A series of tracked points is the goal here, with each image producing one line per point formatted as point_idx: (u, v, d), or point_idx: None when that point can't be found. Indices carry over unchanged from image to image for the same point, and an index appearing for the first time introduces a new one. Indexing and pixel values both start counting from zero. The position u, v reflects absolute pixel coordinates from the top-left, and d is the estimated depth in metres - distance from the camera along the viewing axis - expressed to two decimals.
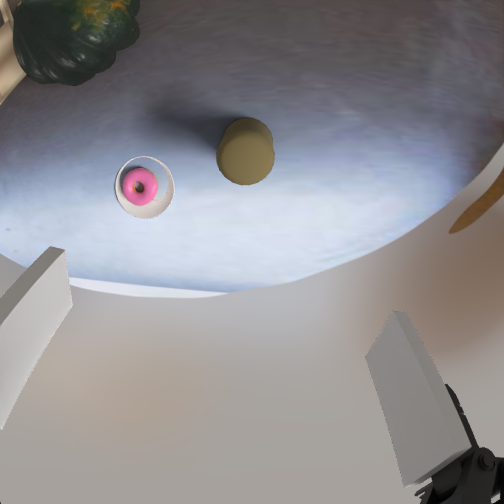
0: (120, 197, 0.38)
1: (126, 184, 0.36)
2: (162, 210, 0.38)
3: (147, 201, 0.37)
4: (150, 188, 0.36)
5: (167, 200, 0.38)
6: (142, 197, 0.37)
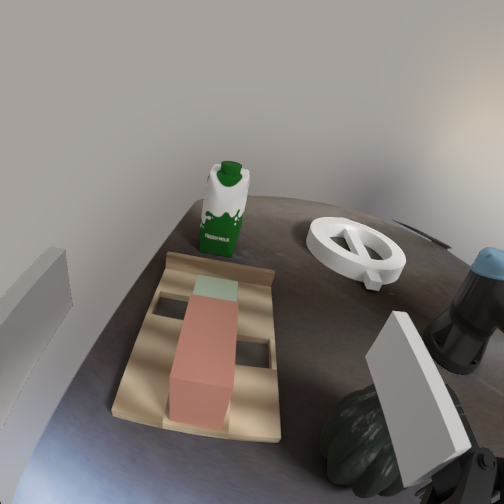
0: None
1: None
2: None
3: None
4: None
5: None
6: None
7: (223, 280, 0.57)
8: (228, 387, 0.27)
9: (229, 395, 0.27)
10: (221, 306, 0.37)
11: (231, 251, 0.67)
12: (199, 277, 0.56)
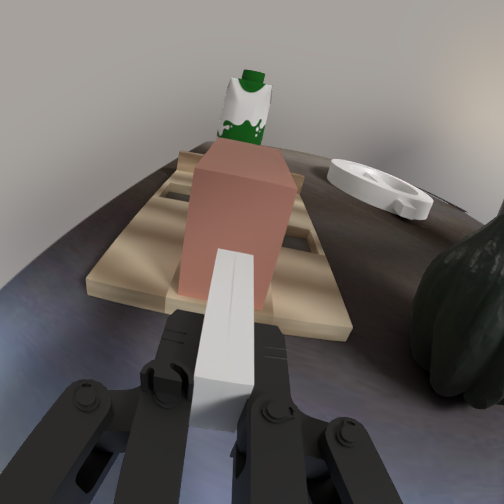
0: None
1: None
2: None
3: None
4: None
5: None
6: None
7: None
8: (290, 188, 0.17)
9: (288, 209, 0.18)
10: (259, 147, 0.27)
11: None
12: None
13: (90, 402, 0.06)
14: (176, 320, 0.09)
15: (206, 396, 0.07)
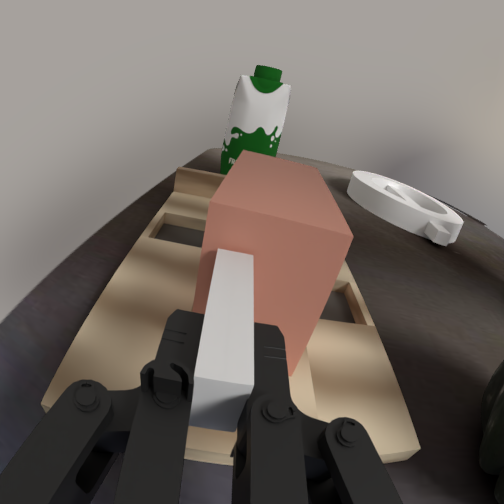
0: None
1: None
2: None
3: None
4: None
5: None
6: None
7: None
8: (343, 235, 0.12)
9: (338, 263, 0.13)
10: (293, 164, 0.22)
11: None
12: None
13: (90, 402, 0.06)
14: (176, 320, 0.09)
15: (206, 396, 0.07)
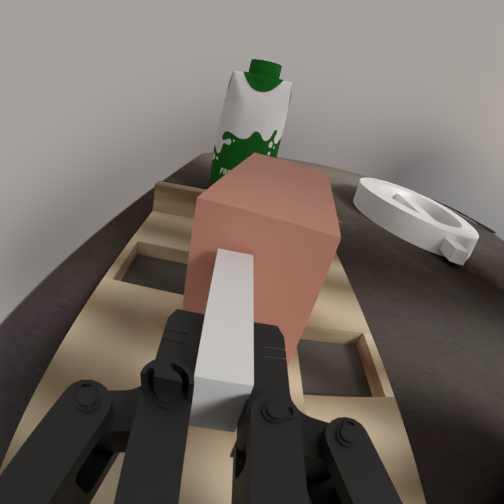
0: None
1: None
2: None
3: None
4: None
5: None
6: None
7: None
8: (330, 236, 0.12)
9: (326, 265, 0.13)
10: (302, 168, 0.22)
11: None
12: None
13: (90, 402, 0.06)
14: (176, 320, 0.09)
15: (206, 396, 0.07)
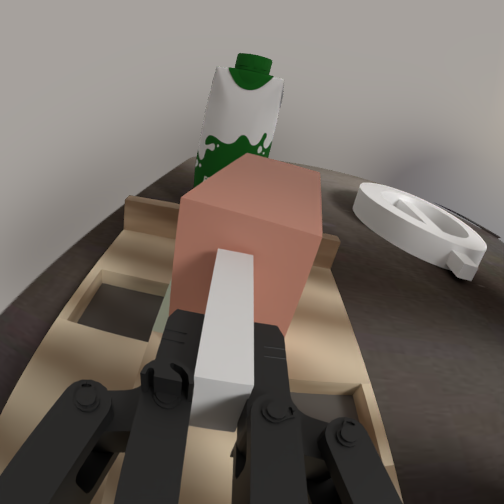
0: None
1: None
2: None
3: None
4: None
5: None
6: None
7: None
8: (311, 235, 0.12)
9: (307, 264, 0.13)
10: (294, 168, 0.22)
11: None
12: None
13: (90, 402, 0.06)
14: (177, 320, 0.09)
15: (206, 396, 0.07)
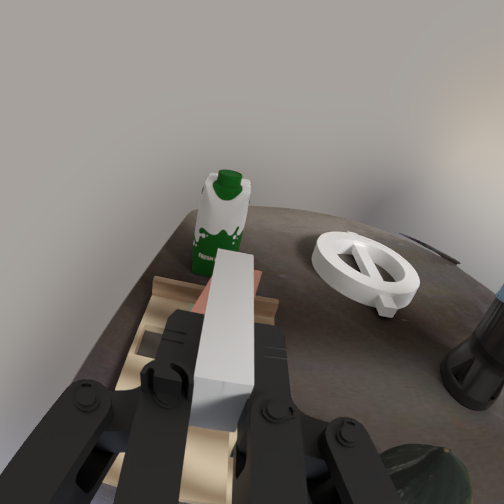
0: None
1: None
2: None
3: None
4: None
5: None
6: None
7: None
8: None
9: None
10: None
11: None
12: (191, 307, 0.47)
13: (90, 402, 0.06)
14: (176, 320, 0.09)
15: (206, 396, 0.07)
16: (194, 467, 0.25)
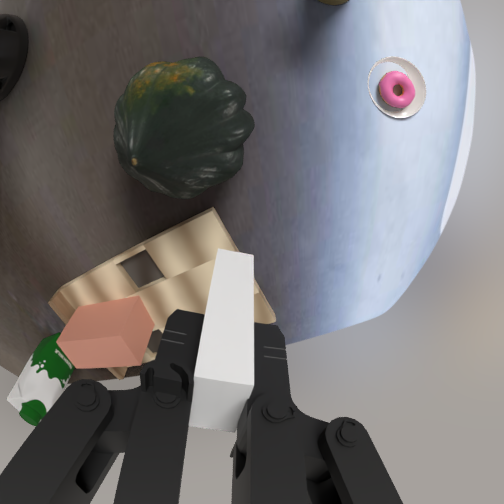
0: (404, 115, 0.33)
1: (395, 100, 0.31)
2: (419, 74, 0.30)
3: (412, 83, 0.30)
4: (400, 76, 0.29)
5: (410, 67, 0.30)
6: (408, 87, 0.30)
7: None
8: (122, 337, 0.37)
9: (124, 329, 0.38)
10: (68, 351, 0.39)
11: (56, 337, 0.51)
12: None
13: (90, 402, 0.06)
14: (176, 320, 0.09)
15: (206, 396, 0.07)
16: None
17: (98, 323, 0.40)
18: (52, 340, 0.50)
